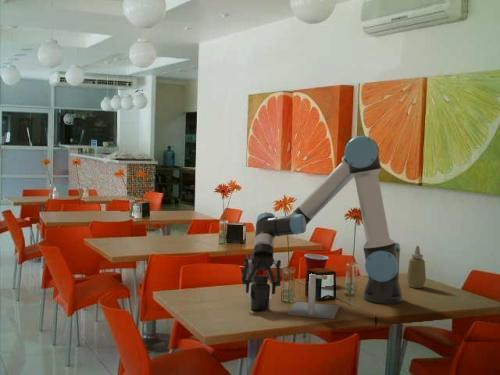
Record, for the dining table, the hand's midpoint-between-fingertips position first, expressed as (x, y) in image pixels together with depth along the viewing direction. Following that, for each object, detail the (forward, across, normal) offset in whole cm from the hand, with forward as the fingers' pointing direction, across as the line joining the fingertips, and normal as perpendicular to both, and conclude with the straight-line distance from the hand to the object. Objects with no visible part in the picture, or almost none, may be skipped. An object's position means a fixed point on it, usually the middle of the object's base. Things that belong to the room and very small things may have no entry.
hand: (259, 300), depth 213 cm
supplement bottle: (+1, 0, -6) cm, 6 cm away
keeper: (0, -20, -6) cm, 20 cm away
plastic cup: (-36, -21, -42) cm, 59 cm away
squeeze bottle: (-35, -65, -41) cm, 85 cm away
